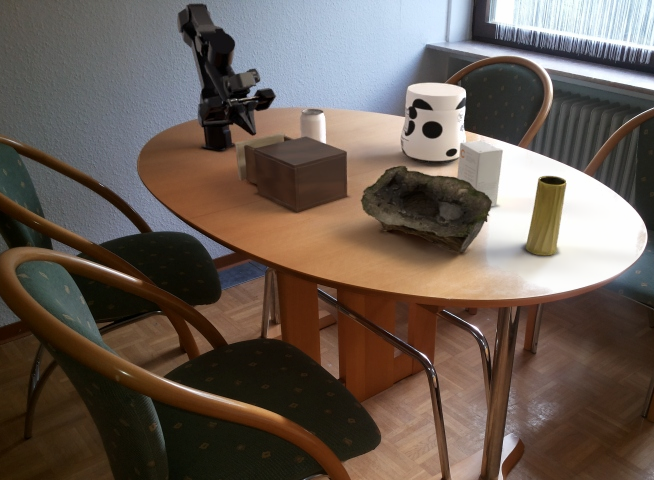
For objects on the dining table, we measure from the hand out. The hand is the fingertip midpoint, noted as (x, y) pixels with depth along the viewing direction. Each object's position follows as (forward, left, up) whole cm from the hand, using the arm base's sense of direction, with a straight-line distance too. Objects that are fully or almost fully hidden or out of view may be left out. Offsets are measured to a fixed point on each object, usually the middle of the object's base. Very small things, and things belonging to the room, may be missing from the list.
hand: (254, 134), depth 153 cm
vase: (+73, -10, -10) cm, 74 cm away
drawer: (+6, -2, -9) cm, 11 cm away
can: (+6, +18, -10) cm, 22 cm away
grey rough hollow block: (+51, -17, -10) cm, 54 cm away
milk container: (+34, +33, -10) cm, 48 cm away
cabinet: (+17, -7, -10) cm, 20 cm away
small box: (+54, +8, -10) cm, 55 cm away
